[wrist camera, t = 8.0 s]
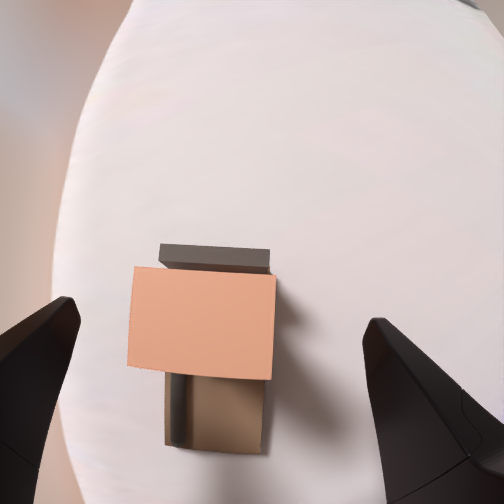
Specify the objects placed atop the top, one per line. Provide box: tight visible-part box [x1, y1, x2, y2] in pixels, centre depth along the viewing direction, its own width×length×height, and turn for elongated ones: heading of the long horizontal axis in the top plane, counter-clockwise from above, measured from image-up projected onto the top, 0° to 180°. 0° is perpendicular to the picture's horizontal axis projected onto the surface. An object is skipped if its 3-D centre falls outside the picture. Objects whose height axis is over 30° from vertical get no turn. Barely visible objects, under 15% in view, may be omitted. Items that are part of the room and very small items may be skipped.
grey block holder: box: [158, 244, 270, 454], centre depth 13 cm, size 10×5×4 cm, turn 177°
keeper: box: [127, 266, 276, 380], centre depth 10 cm, size 4×3×9 cm
